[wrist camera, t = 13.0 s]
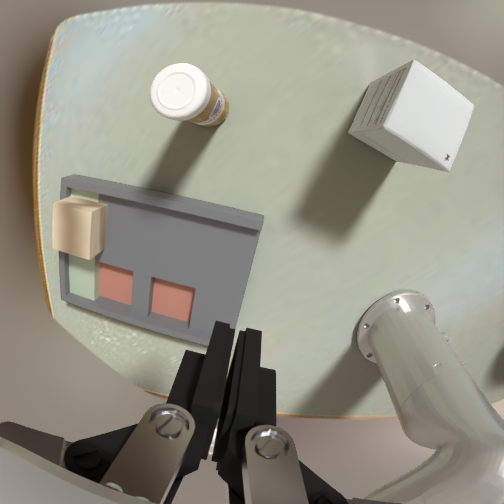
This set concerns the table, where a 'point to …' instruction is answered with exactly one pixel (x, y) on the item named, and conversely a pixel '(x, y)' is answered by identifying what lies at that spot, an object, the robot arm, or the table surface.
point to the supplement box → (413, 117)
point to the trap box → (162, 260)
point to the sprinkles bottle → (188, 96)
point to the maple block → (79, 227)
